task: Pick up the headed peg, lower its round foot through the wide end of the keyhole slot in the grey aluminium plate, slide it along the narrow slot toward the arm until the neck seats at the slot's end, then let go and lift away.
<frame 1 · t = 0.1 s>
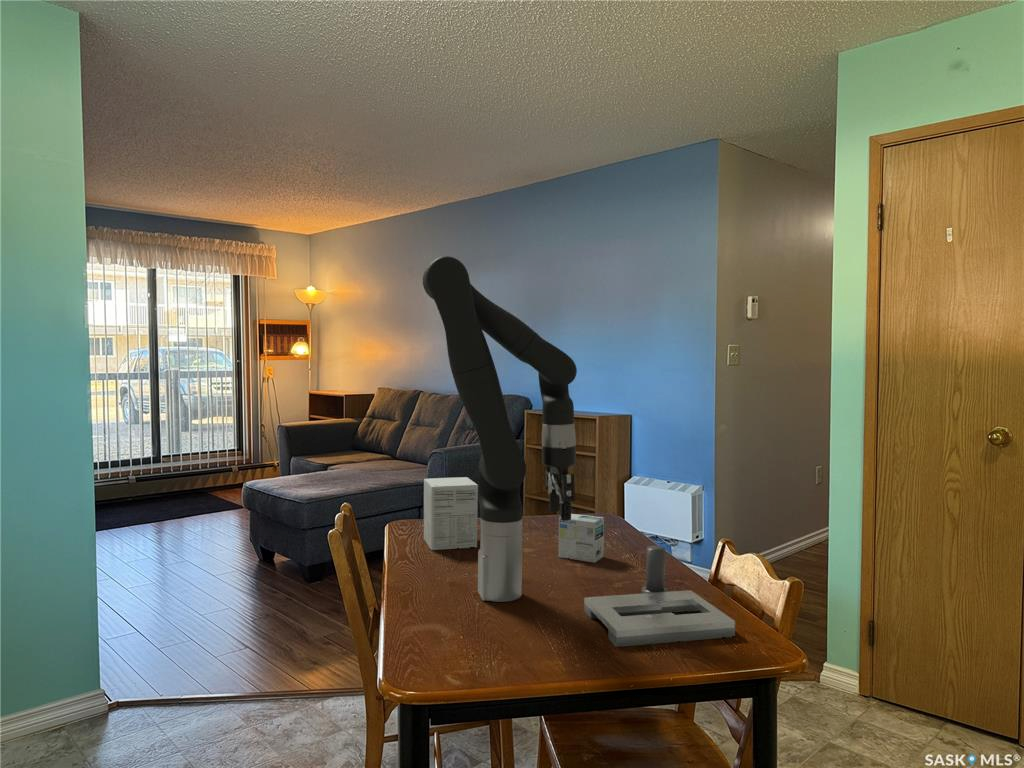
hand: (560, 515, 158), 17 cm above the table, tool pointing down, fingers open, 8 cm apart
supplement box: (449, 543, 198), on the table
headed peg: (655, 594, 157), on the table
light bulb box: (580, 558, 186), on the table
keyhole plate: (656, 623, 140), on the table
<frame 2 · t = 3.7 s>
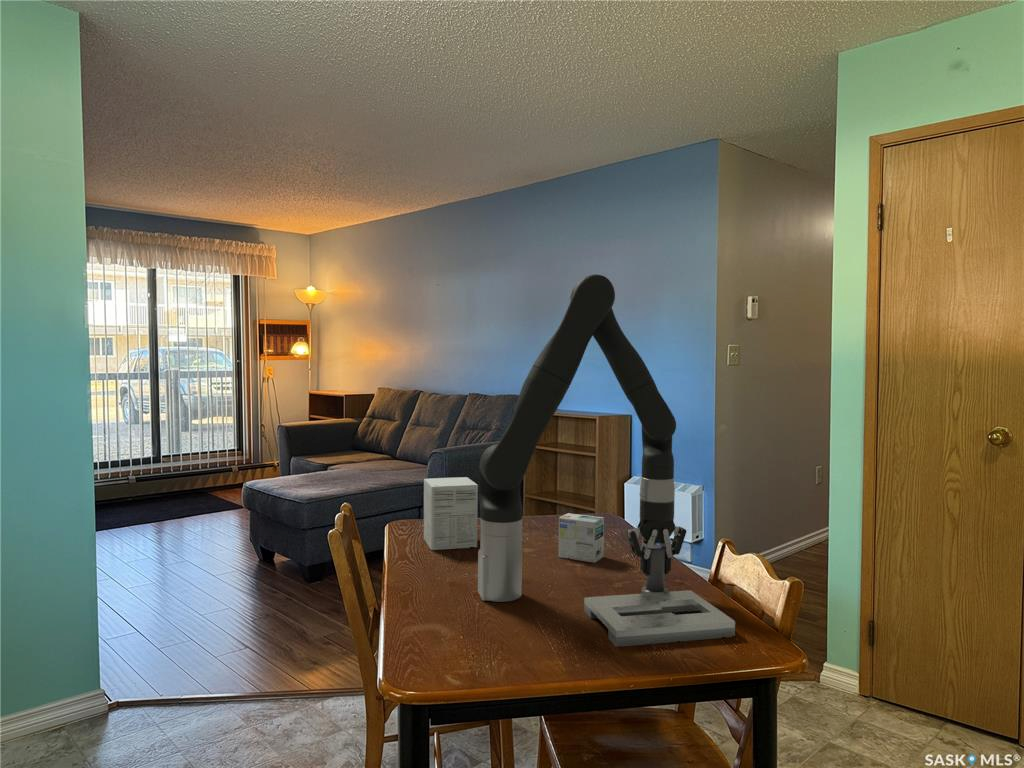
hand: (655, 573, 157), 5 cm above the table, tool pointing down, fingers closed on headed peg, 4 cm apart
headed peg: (655, 594, 157), on the table, touching gripper
everything else where it was.
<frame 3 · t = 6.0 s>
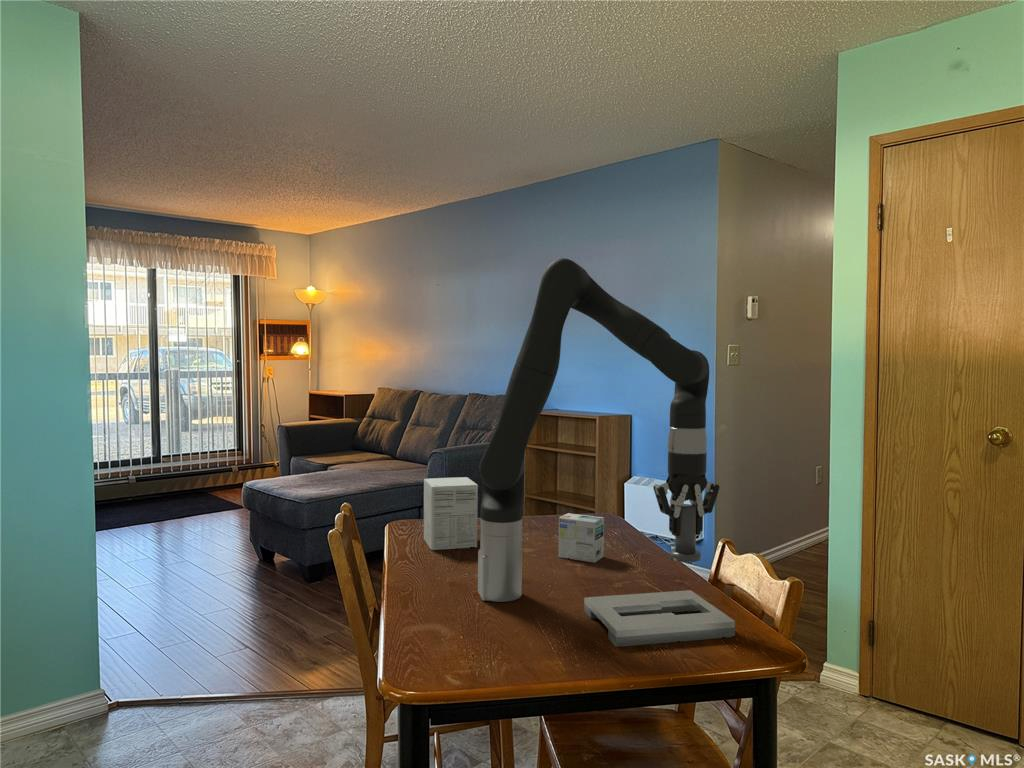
hand: (685, 534, 142), 17 cm above the table, tool pointing down, fingers closed on headed peg, 4 cm apart
headed peg: (685, 557, 142), point 13 cm above the table, touching gripper
everything else where it was.
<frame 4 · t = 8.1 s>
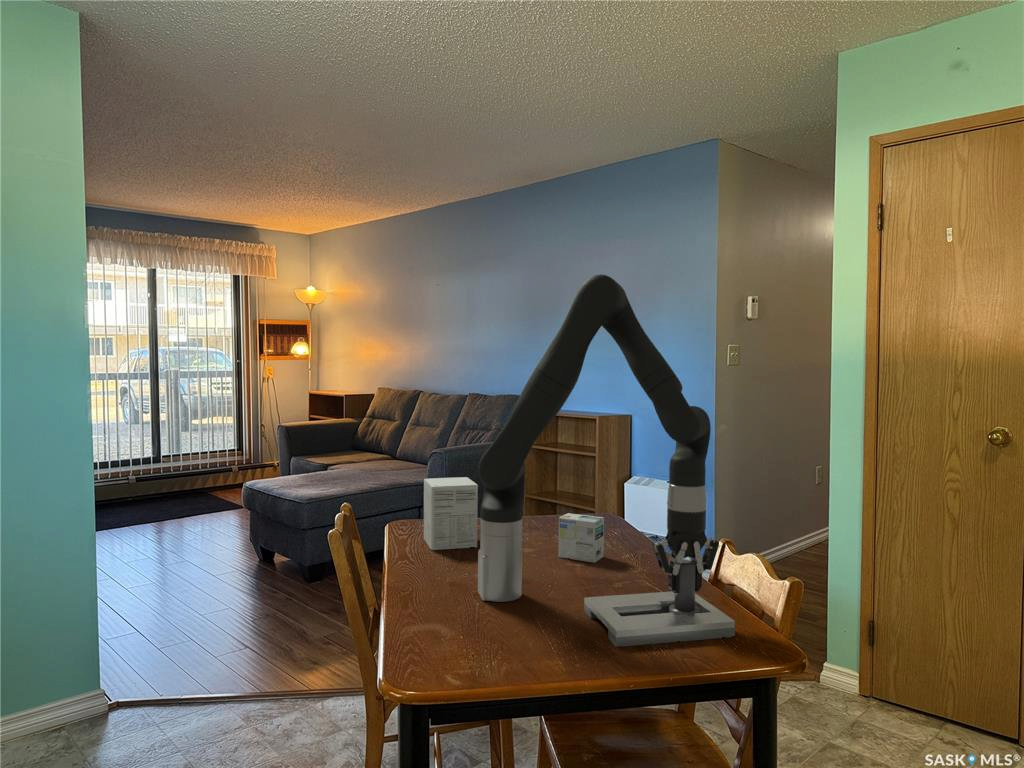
hand: (685, 590, 141), 6 cm above the table, tool pointing down, fingers closed on headed peg, 4 cm apart
headed peg: (684, 614, 142), point 1 cm above the table, touching gripper
everything else where it was.
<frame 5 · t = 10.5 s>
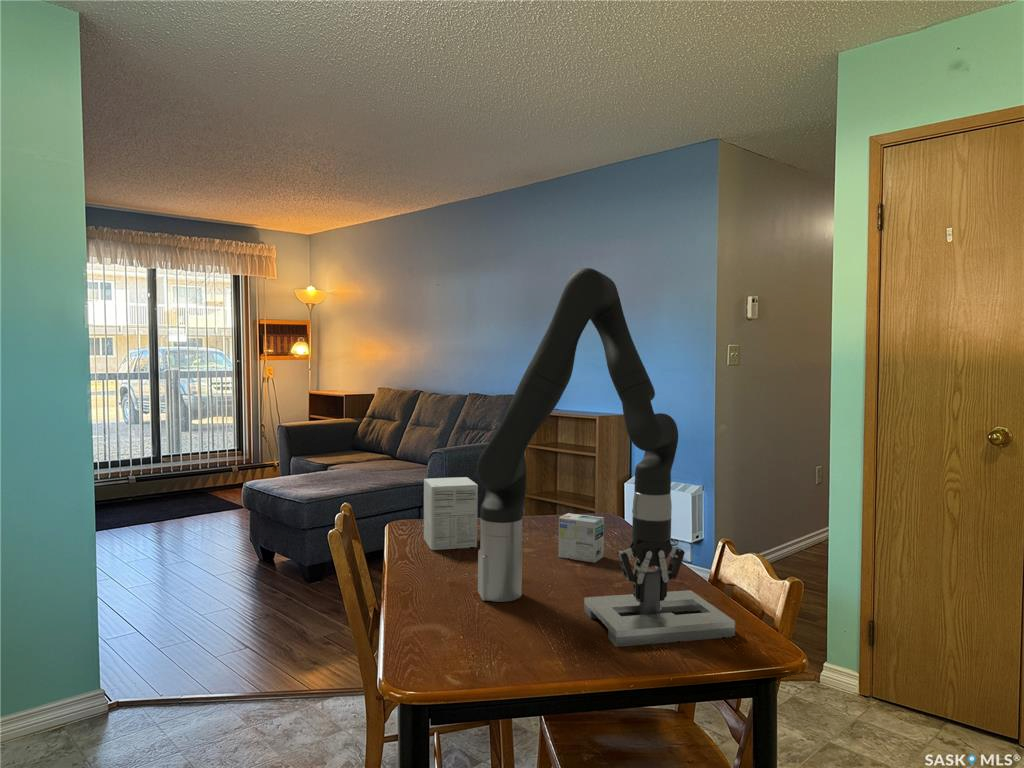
hand: (649, 599, 140), 5 cm above the table, tool pointing down, fingers closed on headed peg, 4 cm apart
headed peg: (649, 623, 140), on the table, touching gripper
everything else where it was.
when the fingers open (5 cm above the table, at t = 12.7 s): headed peg stays where it is, on the table.
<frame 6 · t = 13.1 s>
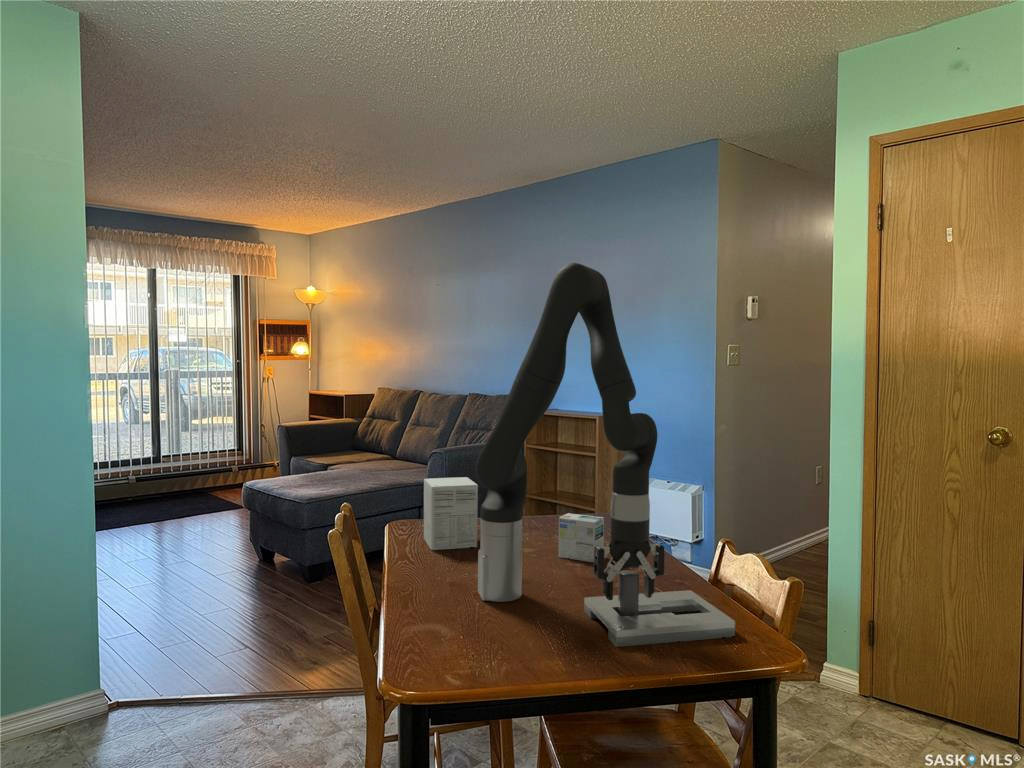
hand: (628, 597, 139), 6 cm above the table, tool pointing down, fingers open, 7 cm apart
headed peg: (627, 626, 139), on the table
everything else where it was.
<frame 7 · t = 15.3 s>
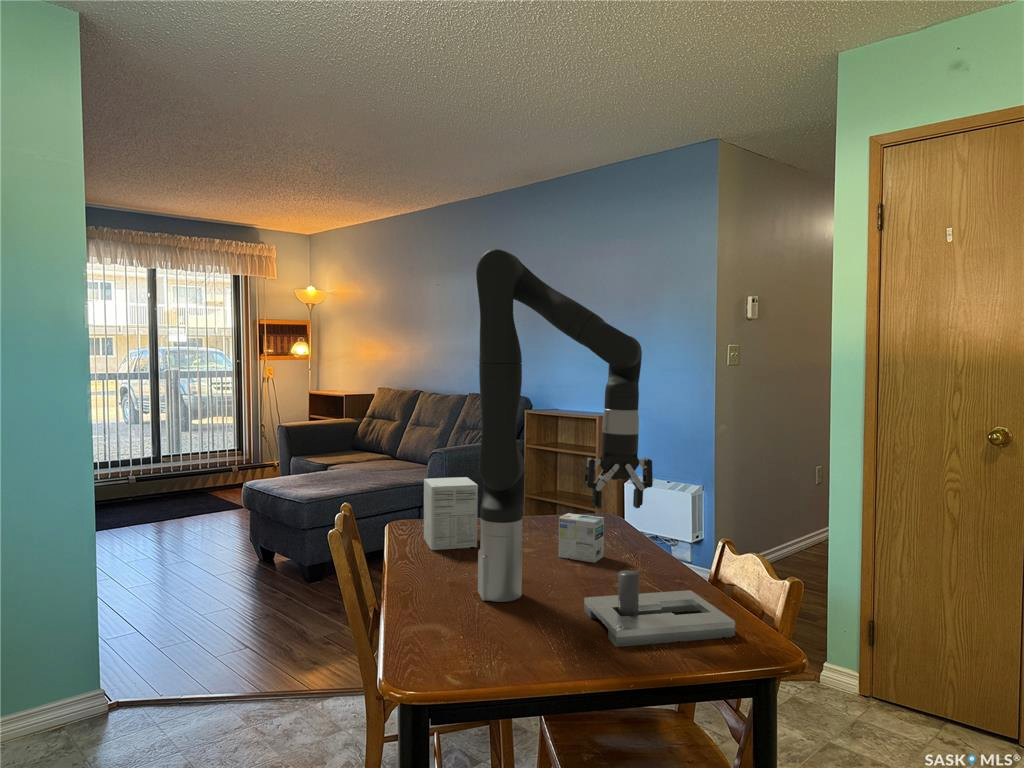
hand: (617, 507, 148), 21 cm above the table, tool pointing down, fingers open, 8 cm apart
nothing on the table moved.
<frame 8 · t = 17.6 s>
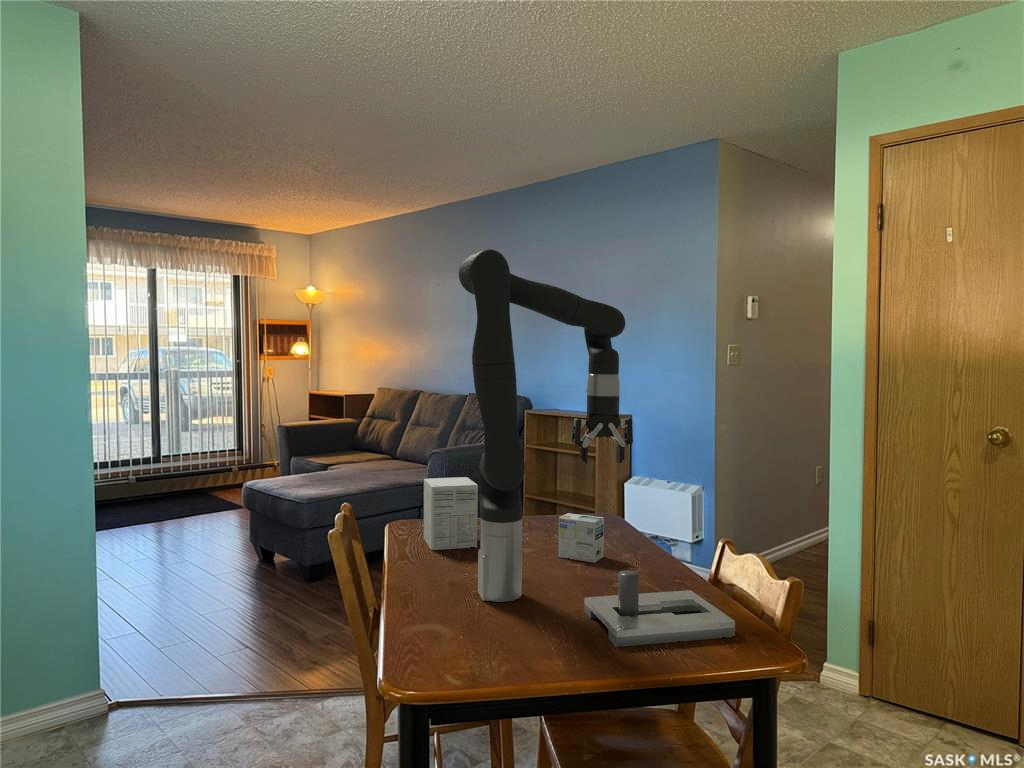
hand: (602, 462, 165), 28 cm above the table, tool pointing down, fingers open, 8 cm apart
nothing on the table moved.
at the end: headed peg 0.0 cm from the target spot on the keyhole plate, point 0.0 cm above the keyhole plate's base; headed peg tilted 0°; the gripper is holding nothing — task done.
